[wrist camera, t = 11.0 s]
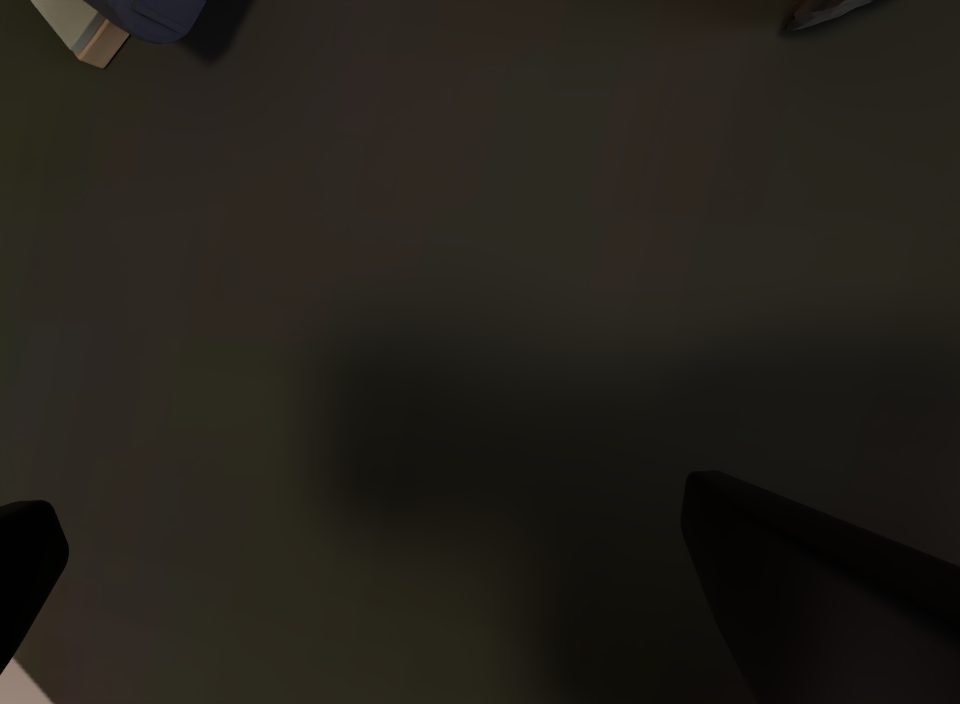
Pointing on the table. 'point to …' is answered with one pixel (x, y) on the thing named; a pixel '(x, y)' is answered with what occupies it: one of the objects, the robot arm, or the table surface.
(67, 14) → the rounded flat tile
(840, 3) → the wooden log
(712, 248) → the table surface
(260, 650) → the table surface
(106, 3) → the two-way radio
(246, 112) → the table surface
